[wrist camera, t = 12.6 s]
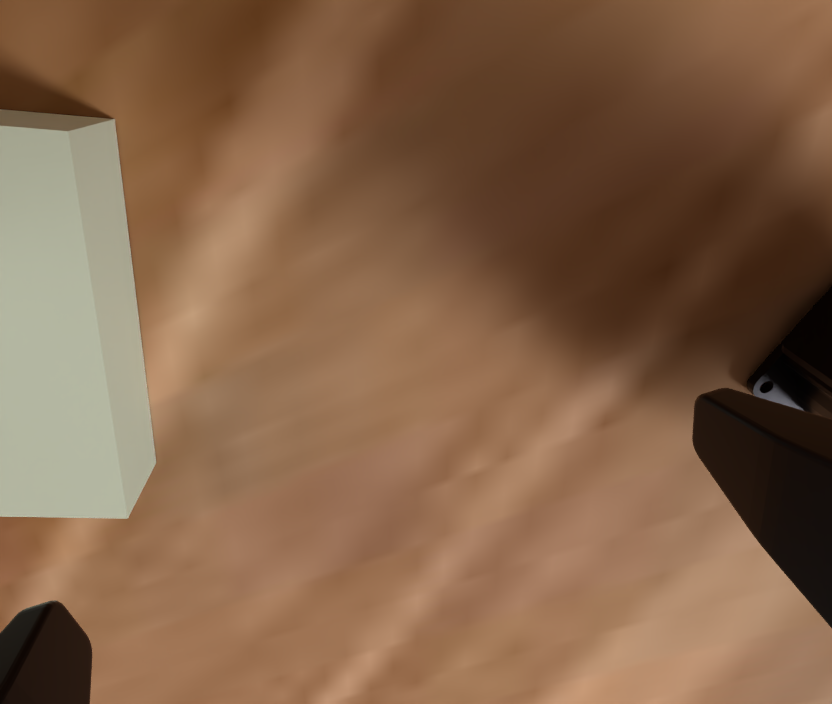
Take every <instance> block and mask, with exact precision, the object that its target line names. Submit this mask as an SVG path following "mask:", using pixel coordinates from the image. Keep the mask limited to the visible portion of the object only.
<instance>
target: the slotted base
mask: <svg viewBox="0 0 832 704" xmlns="http://www.w3.org/2000/svg"><path fill="white" fill-rule="evenodd" d="M155 464H156V457H155V449H154V441H153V432H152V424H151V416H150V407H149V399H148V391H147V383H146V374H145V366H144V358H143V350H142V341H141V333H140V325H139V316H138V308H137V300H136V292H135V283H134V275H133V267H132V259H131V250H130V242H129V234H128V226H127V217H126V209H125V201H124V192H123V184H122V176H121V168H120V159H119V151H118V143H117V135H116V126H115V119H107V118H96V117H84V116H73V115H61V114H49V113H38V112H26V111H15V110H3V109H0V516H3V517H63V518H124V519H128V517H129V515H130V513H131V511H132V509H133V507H134V505H135V503H136V501H137V499H138V497H139V495H140V494H141V492H142V490H143V488H144V486H145V484H146V482H147V480H148V478H149V476H150V474H151V472H152V470H153V468H154V466H155Z"/></svg>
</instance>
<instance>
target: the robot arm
mask: <svg viewBox="0 0 832 704" xmlns="http://www.w3.org/2000/svg"><path fill="white" fill-rule="evenodd" d="M764 382H766V384H765V385H764V386H763V387H761V388H760V386H761V385H762V384H763V383H764ZM747 387H748V390H749V391H750V392H751V393H752V394H753V395H755V396H753V395H749V394H746V393H742V392H739V391H736V390H732V389H728V388H721V389H717V390H714V391H711V392H707V393H704V394H701V395H700V396H698V397H697V399H696V401H695V406H694V421H693V436H692V439H693V445H694V448H695V451H696V453H697V455H698V456H699V458H700V459H701V461H702V462H703V464H704V465H705V467H706V468H707V469H708V471H709V472H710V474H711V475H712V477H713V478H714V480H715V481H716V482H717V484H718V485H719V487H720V488H721V490H722V491H723V492H724V494H725V495H726V497H727V498H728V500H729V501H730V503H731V504H732V505H733V507H734V508H735V510H736V511H737V513H738V514H739V516H740V517H741V518H742V520H743V521H744V523H745V524H746V526H747V527H748V528H749V530H750V531H751V532H752V534H753V535H754V537H755V538H756V539H757V541H758V542H759V543H760V544H761V546H762V547H763V548H764V549H765V550H766V552H767V553H768V554H769V555H770V557H771V558H772V559H773V560H774V561H775V562H776V564H777V565H778V566H779V567H780V568H781V569H782V571H783V572H784V573H785V574H786V575H787V576H788V578H789V579H790V580H791V581H792V582H793V583H794V585H795V586H796V587H797V588H798V589H799V590H800V592H801V593H802V594H803V595H804V596H805V597H806V599H807V600H808V601H809V602H810V603H811V604H812V606H813V607H814V608H815V609H816V610H817V612H818V613H819V614H820V615H821V616H822V617H823V619H824V620H825V621H826V622H827V623H828V624H829V626H830V627H831V628H832V287H831V288H830V289H829V290H828V291H827V292H826V294H825V295H824V296H823V297H822V298H821V299H820V300H819V301H818V302H817V304H816V305H815V306H814V307H813V308H812V309H811V310H810V311H809V312H808V314H807V315H806V316H805V317H804V318H803V319H802V320H801V321H800V322H799V324H798V325H797V326H796V327H795V328H794V329H793V330H792V331H791V332H790V334H789V335H788V336H787V337H786V338H785V339H784V340H783V341H782V342H781V344H780V345H779V346H778V347H777V348H776V349H775V350H774V351H773V352H772V354H771V355H770V356H769V357H768V358H767V359H766V360H765V361H764V362H763V364H762V365H761V366H760V367H759V368H758V369H757V370H756V371H755V372H754V374H753V375H752V376H751V377H750V379H749V380H748V383H747ZM91 669H92V647H91V643H90V640H89V638H88V636H87V635H86V633H85V632H84V631H83V629H82V628H81V627H80V626H79V624H78V623H77V622H76V620H75V619H74V618H73V617H72V615H71V614H70V613H69V611H68V610H67V609H66V608H65V606H64V605H63V604H62V603H60V602H58V601H48V602H45V603H42V604H39V605H36V606H33V607H29V608H26V609H24V610H22V611H21V612H19V613H18V614H17V615H16V616H15V617H14V618H13V619H12V621H11V622H10V623H9V624H8V625H7V626H6V627H5V628H4V630H3V631H2V632H1V633H0V704H90V688H91Z"/></svg>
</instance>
